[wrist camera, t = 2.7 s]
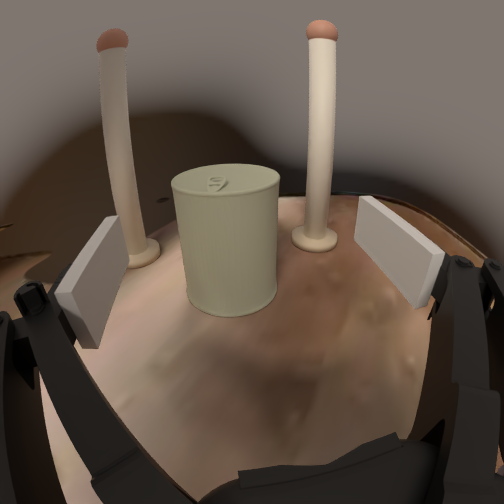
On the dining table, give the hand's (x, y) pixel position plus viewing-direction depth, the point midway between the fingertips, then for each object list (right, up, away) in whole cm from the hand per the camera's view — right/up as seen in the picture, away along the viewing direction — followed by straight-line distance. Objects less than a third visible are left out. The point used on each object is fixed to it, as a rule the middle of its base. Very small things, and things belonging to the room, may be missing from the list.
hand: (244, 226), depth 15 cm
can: (-2, -5, +14) cm, 15 cm away
